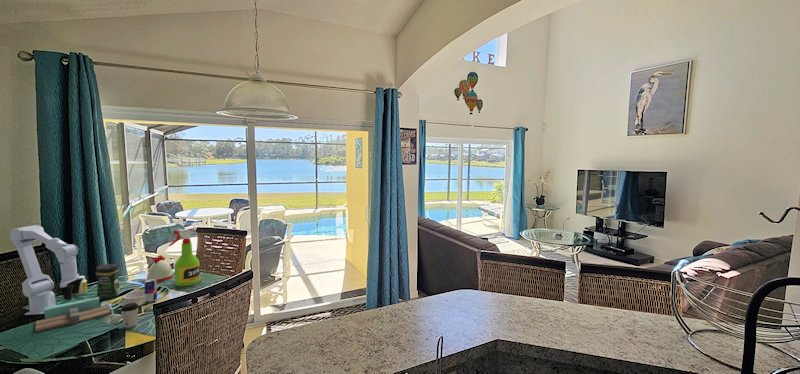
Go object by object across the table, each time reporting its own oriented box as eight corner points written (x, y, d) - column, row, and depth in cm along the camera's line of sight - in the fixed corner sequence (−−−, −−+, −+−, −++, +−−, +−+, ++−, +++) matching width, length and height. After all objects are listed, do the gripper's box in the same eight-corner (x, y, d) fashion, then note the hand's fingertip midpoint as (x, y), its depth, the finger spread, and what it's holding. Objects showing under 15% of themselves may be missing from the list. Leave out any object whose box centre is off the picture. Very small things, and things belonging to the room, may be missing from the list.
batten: (44, 319, 164) (44, 310, 164) (45, 317, 167) (44, 307, 166) (99, 308, 178) (99, 298, 177) (99, 305, 180) (99, 296, 180)
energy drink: (150, 303, 183) (149, 282, 182) (142, 302, 184) (141, 281, 183) (159, 299, 188) (158, 278, 187) (151, 298, 190) (150, 278, 188)
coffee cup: (124, 330, 156) (123, 309, 155) (118, 326, 160) (117, 305, 159) (142, 324, 162) (141, 304, 161) (136, 320, 166) (135, 300, 165)
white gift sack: (141, 280, 215) (140, 258, 213) (160, 273, 228) (159, 251, 227) (160, 282, 212) (159, 259, 211) (178, 275, 226) (177, 253, 224)
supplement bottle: (75, 295, 191) (74, 279, 190) (74, 293, 194) (72, 277, 193) (88, 293, 195) (87, 277, 194) (86, 290, 198) (85, 274, 197)
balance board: (36, 323, 161) (35, 316, 160) (107, 306, 179) (107, 300, 179) (35, 332, 152) (34, 325, 152) (110, 314, 171) (110, 307, 171)
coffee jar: (94, 299, 186) (92, 267, 185) (104, 293, 194) (102, 262, 192) (114, 299, 188) (111, 266, 186) (123, 293, 196) (121, 262, 194)
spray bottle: (162, 287, 205) (160, 230, 202) (189, 277, 223) (187, 224, 219) (179, 290, 202) (177, 232, 198) (205, 279, 219) (203, 226, 215)
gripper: (72, 273, 161) (75, 300, 163) (85, 264, 175) (88, 289, 176) (52, 275, 158) (56, 303, 160) (68, 266, 172) (70, 292, 173)
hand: (71, 296), depth 168 cm, fingers open, 7 cm apart
